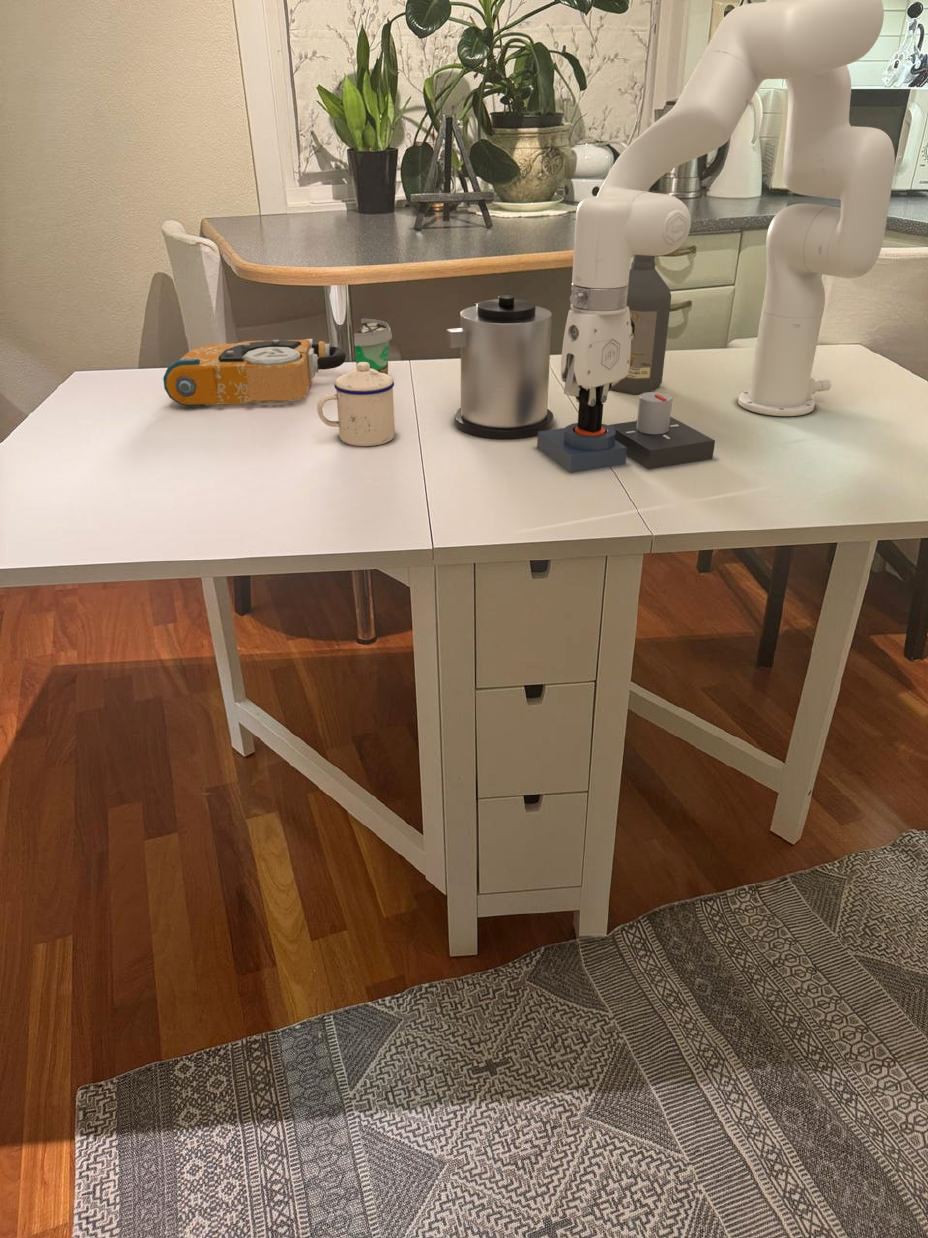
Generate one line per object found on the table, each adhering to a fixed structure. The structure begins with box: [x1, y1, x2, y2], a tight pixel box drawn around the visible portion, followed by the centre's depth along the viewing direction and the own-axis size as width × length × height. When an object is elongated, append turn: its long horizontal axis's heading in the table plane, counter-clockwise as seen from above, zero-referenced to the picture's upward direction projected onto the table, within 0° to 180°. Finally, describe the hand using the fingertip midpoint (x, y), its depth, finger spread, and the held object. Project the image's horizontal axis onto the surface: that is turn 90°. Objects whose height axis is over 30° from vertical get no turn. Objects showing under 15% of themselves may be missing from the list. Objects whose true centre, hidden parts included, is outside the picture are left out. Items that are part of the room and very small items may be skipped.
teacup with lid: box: [316, 362, 396, 447], centre depth 140 cm, size 12×9×12 cm
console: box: [608, 415, 716, 470], centre depth 137 cm, size 11×12×3 cm
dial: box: [636, 391, 673, 435], centre depth 136 cm, size 5×5×5 cm
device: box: [162, 338, 347, 408], centre depth 162 cm, size 23×8×30 cm
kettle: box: [446, 294, 554, 441], centre depth 145 cm, size 17×20×20 cm
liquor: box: [609, 255, 672, 395], centre depth 158 cm, size 9×9×30 cm
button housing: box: [536, 422, 627, 474], centre depth 135 cm, size 9×11×4 cm
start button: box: [575, 426, 605, 436], centre depth 133 cm, size 4×4×2 cm
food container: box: [353, 318, 393, 375], centre depth 167 cm, size 12×6×10 cm, turn 179°
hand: (589, 429), depth 132 cm, fingers closed
